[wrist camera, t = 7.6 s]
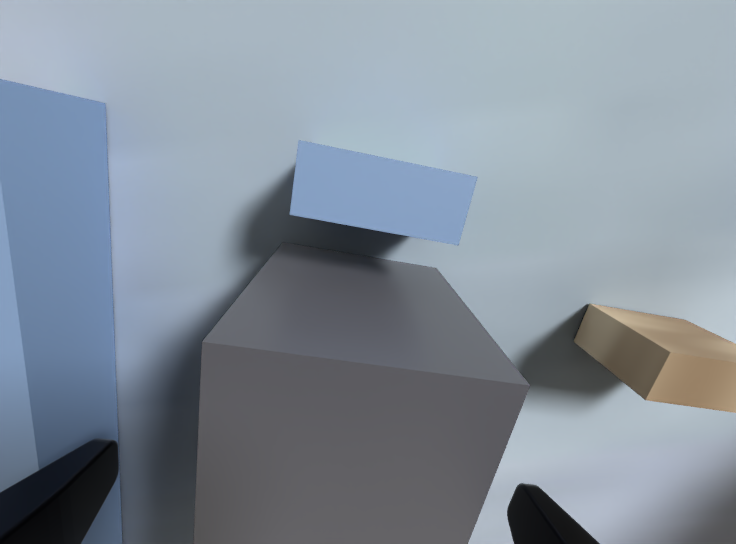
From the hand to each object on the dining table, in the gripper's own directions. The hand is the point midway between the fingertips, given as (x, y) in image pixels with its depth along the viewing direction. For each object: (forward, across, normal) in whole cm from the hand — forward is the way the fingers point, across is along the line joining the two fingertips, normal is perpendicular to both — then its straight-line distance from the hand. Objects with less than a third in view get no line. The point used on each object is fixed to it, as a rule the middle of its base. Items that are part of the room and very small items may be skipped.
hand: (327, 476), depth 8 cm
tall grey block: (+3, 0, 0) cm, 3 cm away
